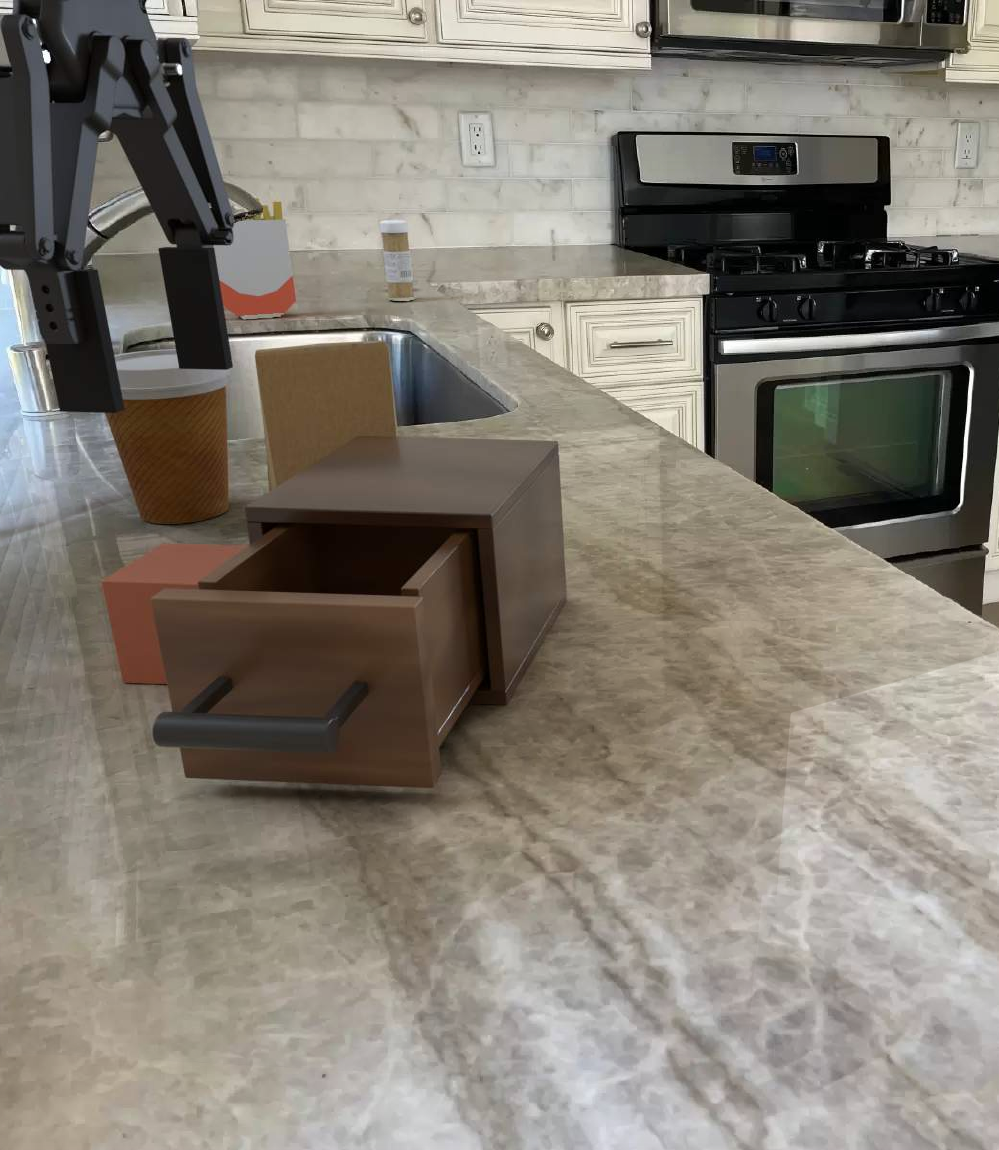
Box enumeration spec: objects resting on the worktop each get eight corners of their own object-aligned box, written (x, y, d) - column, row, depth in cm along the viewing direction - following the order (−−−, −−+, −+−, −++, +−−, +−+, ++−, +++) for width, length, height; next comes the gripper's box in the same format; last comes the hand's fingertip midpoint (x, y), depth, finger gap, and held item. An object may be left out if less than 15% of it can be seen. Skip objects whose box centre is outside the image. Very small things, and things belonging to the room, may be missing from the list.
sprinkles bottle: (409, 298, 203) (401, 219, 198) (419, 301, 200) (411, 220, 195) (384, 300, 201) (375, 220, 196) (393, 303, 197) (384, 221, 192)
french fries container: (219, 317, 180) (200, 197, 174) (291, 312, 186) (276, 196, 179) (224, 321, 177) (205, 199, 170) (298, 316, 182) (282, 197, 176)
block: (122, 683, 62) (100, 580, 60) (181, 637, 68) (162, 542, 66) (229, 687, 62) (211, 584, 60) (279, 641, 68) (264, 545, 65)
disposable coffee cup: (239, 488, 96) (216, 344, 92) (261, 518, 88) (237, 363, 84) (111, 505, 91) (80, 354, 87) (123, 539, 84) (90, 376, 79)
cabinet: (506, 705, 60) (491, 514, 57) (273, 696, 61) (243, 507, 57) (567, 600, 74) (558, 440, 70) (376, 593, 75) (356, 435, 71)
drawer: (394, 853, 46) (369, 657, 43) (121, 841, 47) (77, 646, 44) (513, 659, 64) (501, 508, 60) (312, 651, 64) (290, 502, 61)
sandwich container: (378, 491, 95) (357, 309, 90) (412, 548, 83) (390, 340, 77) (267, 504, 92) (238, 315, 86) (285, 566, 79) (252, 348, 74)
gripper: (-33, -168, 41) (93, 444, 49) (262, -66, 61) (316, 350, 70) (-236, -168, 41) (-77, 440, 49) (126, -67, 62) (196, 347, 70)
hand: (154, 387), depth 59 cm, fingers open, 10 cm apart
